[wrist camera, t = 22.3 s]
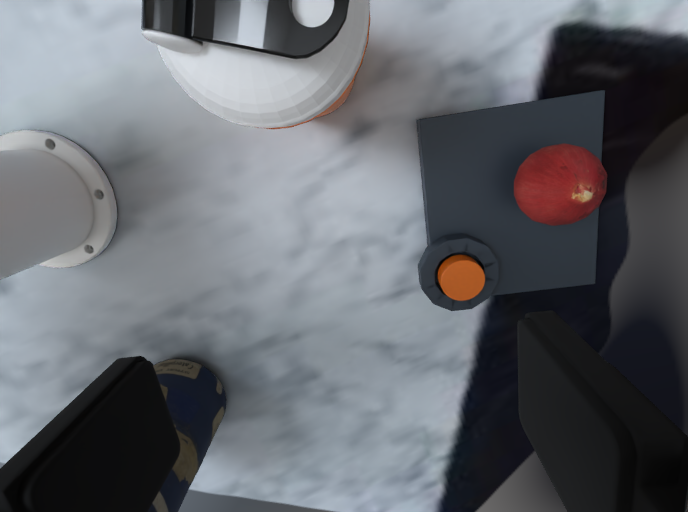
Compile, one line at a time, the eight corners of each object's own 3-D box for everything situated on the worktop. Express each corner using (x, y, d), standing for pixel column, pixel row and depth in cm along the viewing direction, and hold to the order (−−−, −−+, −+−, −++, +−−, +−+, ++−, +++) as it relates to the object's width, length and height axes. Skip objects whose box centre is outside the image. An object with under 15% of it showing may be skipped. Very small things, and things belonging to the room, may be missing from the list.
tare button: (439, 295, 34) (442, 303, 32) (435, 257, 33) (439, 263, 31) (480, 290, 34) (486, 298, 32) (479, 251, 32) (484, 257, 31)
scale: (419, 297, 37) (424, 314, 34) (401, 122, 32) (405, 121, 29) (583, 278, 36) (605, 293, 33) (591, 92, 31) (618, 87, 28)
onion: (575, 137, 30) (645, 140, 23) (571, 209, 32) (635, 234, 25) (499, 147, 31) (543, 153, 23) (500, 217, 33) (541, 244, 25)
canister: (133, 357, 41) (-31, 520, 24) (218, 347, 40) (111, 509, 23) (160, 429, 44) (31, 621, 27) (240, 421, 43) (159, 614, 26)
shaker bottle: (363, 131, 33) (364, 134, 14) (259, 126, 33) (119, 123, 14) (370, 10, 30) (381, -194, 11) (256, 6, 30) (76, -199, 11)
